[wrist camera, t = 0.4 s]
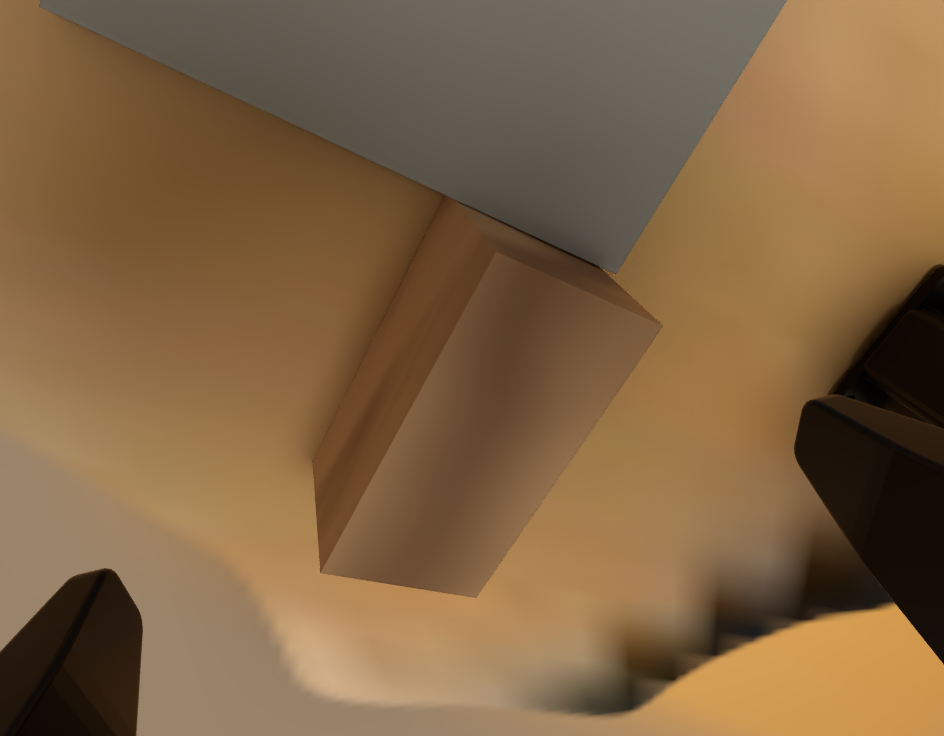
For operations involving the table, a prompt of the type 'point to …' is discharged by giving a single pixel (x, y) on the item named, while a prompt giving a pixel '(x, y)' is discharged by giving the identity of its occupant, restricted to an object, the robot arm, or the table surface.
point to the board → (476, 91)
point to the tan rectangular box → (469, 404)
